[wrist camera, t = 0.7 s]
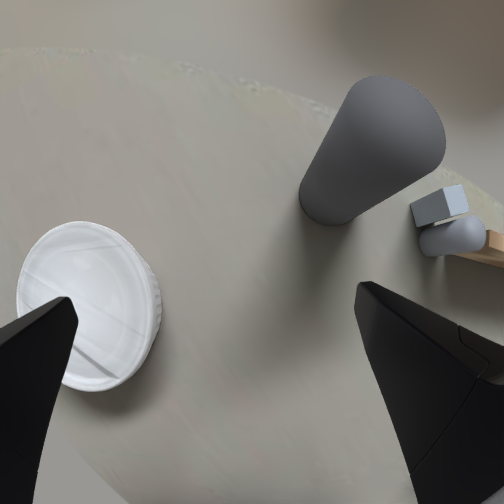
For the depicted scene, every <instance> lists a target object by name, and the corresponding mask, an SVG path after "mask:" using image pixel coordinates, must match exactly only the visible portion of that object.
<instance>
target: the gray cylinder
mask: <svg viewBox="0 0 504 504" xmlns="http://www.w3.org/2000/svg"><path fill="white" fill-rule="evenodd" d="M445 149H446V138H445V131H444V128H443V124H442V122H441V120H440V117H439V115H438V114H437V112H436V110H435V109H434V107H433V106H432V104H431V103H430V102H429V101H428V100H427V99H426V98H425V97H424V96H423V95H422V94H421V93H420V92H419V91H418V90H416V89H415V88H413V87H412V86H410V85H409V84H407V83H405V82H403V81H401V80H398V79H395V78H392V77H388V76H371V77H367V78H364V79H362V80H360V81H358V82H357V83H355V84H354V85H353V86H352V88H351V89H350V91H349V92H348V94H347V96H346V98H345V100H344V102H343V104H342V106H341V107H340V109H339V111H338V113H337V115H336V117H335V119H334V121H333V123H332V125H331V127H330V128H329V130H328V132H327V134H326V136H325V138H324V140H323V142H322V144H321V146H320V147H319V149H318V151H317V153H316V155H315V157H314V159H313V161H312V163H311V164H310V166H309V168H308V170H307V172H306V174H305V176H304V178H303V180H302V182H301V185H300V189H299V197H300V202H301V205H302V207H303V209H304V211H305V212H306V213H307V215H308V216H309V217H310V218H312V219H313V220H314V221H316V222H318V223H320V224H322V225H326V226H338V225H342V224H344V223H346V222H348V221H350V220H351V219H353V218H355V217H357V216H358V215H360V214H362V213H363V212H365V211H367V210H369V209H370V208H372V207H374V206H375V205H377V204H379V203H380V202H382V201H384V200H385V199H387V198H389V197H391V196H392V195H394V194H396V193H397V192H399V191H401V190H402V189H404V188H406V187H407V186H409V185H411V184H412V183H414V182H416V181H417V180H419V179H421V178H422V177H424V176H426V175H427V174H429V173H431V172H432V171H434V170H435V169H436V168H437V167H438V166H439V164H440V163H441V161H442V159H443V157H444V154H445Z"/></svg>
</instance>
